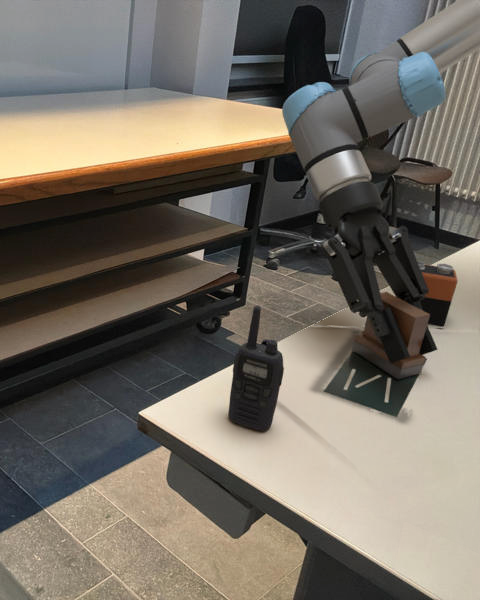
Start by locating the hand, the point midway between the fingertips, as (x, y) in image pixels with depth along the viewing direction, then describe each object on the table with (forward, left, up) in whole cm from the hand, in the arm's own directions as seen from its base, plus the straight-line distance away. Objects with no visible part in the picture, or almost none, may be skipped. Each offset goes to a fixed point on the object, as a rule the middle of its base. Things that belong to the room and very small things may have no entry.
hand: (413, 356), depth 85 cm
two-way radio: (+22, +9, -4) cm, 24 cm away
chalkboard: (+4, 0, -4) cm, 6 cm away
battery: (-8, -16, -4) cm, 19 cm away
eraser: (+2, -3, -3) cm, 5 cm away
